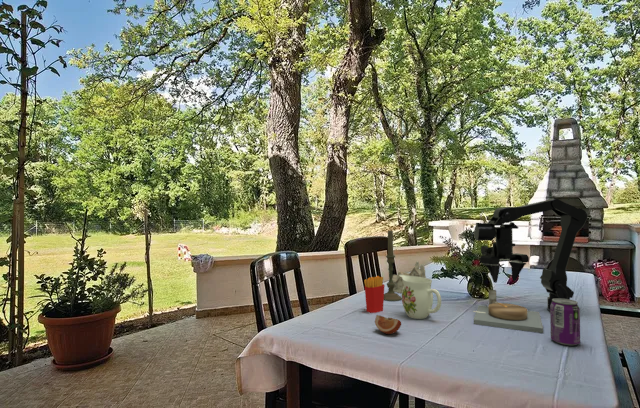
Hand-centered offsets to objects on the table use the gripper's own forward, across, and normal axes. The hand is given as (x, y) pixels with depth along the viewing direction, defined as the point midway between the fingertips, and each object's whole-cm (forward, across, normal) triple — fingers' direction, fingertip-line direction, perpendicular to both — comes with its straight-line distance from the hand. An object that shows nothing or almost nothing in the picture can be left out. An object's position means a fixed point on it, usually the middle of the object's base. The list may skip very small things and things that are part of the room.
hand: (504, 281), depth 137 cm
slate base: (+11, +8, +9) cm, 17 cm away
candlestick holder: (+11, +31, -31) cm, 45 cm away
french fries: (+11, +46, -17) cm, 51 cm away
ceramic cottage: (+11, +14, -42) cm, 45 cm away
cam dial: (+9, +8, +7) cm, 14 cm away
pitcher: (+11, +35, -4) cm, 37 cm away
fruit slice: (+11, +54, +6) cm, 55 cm away
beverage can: (+11, +10, +31) cm, 35 cm away
